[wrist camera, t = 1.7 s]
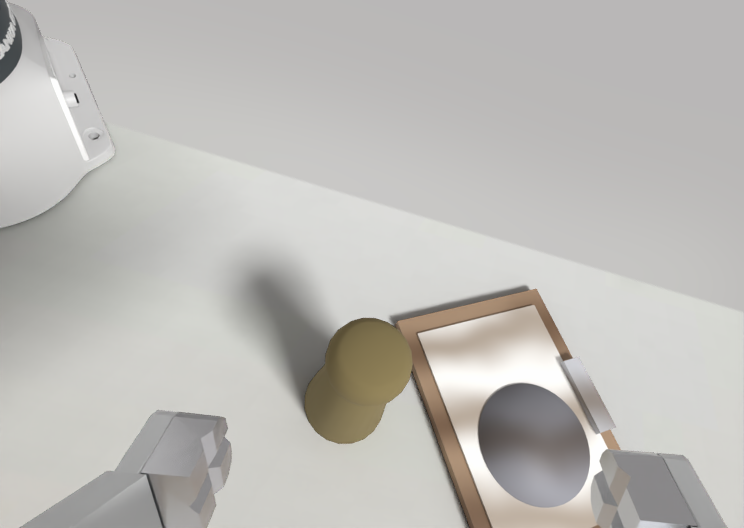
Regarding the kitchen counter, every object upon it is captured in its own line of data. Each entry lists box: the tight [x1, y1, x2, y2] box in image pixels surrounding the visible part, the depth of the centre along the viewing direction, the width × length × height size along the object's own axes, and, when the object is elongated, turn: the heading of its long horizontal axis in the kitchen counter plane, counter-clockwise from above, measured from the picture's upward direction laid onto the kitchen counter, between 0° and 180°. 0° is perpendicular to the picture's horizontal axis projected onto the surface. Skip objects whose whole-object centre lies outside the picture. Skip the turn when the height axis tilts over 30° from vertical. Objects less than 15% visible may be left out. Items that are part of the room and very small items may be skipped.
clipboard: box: [395, 289, 621, 528], centre depth 38 cm, size 20×14×2 cm
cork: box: [305, 318, 413, 444], centre depth 32 cm, size 6×6×11 cm
